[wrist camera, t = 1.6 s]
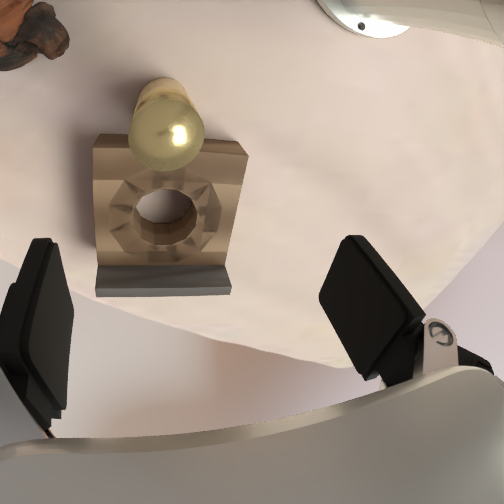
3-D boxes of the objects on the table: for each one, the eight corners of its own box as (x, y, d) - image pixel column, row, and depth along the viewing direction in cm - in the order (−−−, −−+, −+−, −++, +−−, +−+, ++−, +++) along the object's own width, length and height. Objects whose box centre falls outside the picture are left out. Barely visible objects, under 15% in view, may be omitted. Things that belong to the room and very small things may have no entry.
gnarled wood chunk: (-38, 61, 14) (-78, 22, 6) (32, -17, 14) (15, -72, 7) (45, 112, 18) (8, 69, 10) (121, 21, 19) (124, -44, 11)
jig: (99, 134, 23) (85, 163, 18) (238, 142, 27) (259, 171, 22) (102, 250, 29) (96, 296, 25) (216, 251, 34) (229, 294, 29)
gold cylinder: (141, 76, 21) (132, 97, 13) (190, 80, 22) (210, 103, 15) (135, 123, 23) (126, 170, 16) (183, 125, 24) (198, 172, 17)
